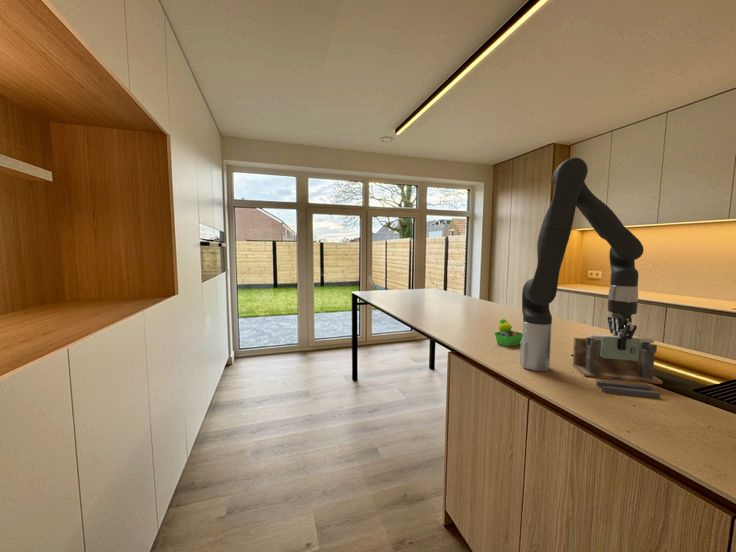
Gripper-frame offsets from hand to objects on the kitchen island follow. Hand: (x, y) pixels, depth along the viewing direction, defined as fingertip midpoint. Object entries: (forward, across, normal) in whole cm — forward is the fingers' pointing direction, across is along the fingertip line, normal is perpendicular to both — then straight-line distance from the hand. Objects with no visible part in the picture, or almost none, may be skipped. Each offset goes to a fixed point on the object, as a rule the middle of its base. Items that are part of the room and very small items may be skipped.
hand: (619, 348), depth 100 cm
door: (+3, 0, 0) cm, 3 cm away
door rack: (+10, +12, -3) cm, 16 cm away
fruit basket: (+10, -30, -30) cm, 44 cm away
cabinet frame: (+10, -2, 0) cm, 10 cm away
